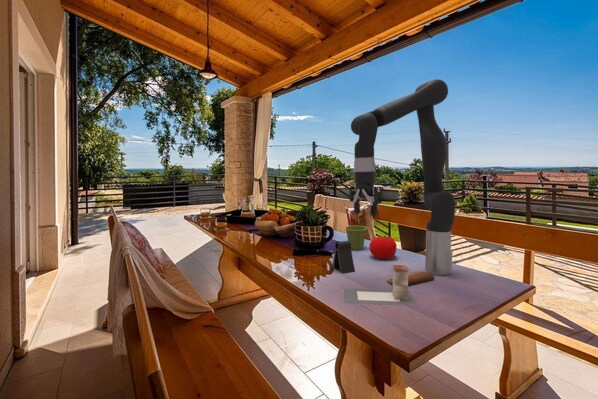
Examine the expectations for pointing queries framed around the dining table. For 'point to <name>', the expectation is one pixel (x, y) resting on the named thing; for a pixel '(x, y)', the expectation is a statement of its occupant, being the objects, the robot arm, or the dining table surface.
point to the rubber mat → (375, 297)
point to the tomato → (383, 247)
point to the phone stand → (343, 257)
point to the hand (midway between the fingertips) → (365, 214)
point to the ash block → (400, 282)
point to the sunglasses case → (416, 278)
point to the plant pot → (356, 236)
